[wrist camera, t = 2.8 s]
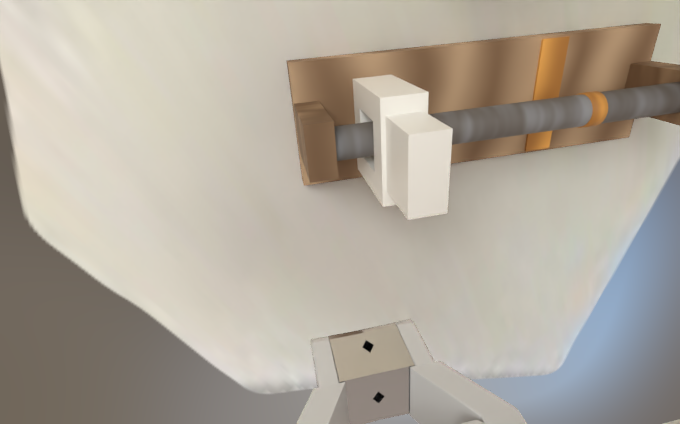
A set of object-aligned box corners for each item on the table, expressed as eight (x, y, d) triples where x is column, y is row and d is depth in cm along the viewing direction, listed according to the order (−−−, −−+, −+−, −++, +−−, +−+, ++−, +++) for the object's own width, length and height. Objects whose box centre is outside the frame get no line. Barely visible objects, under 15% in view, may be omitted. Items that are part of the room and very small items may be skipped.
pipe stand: (302, 179, 35) (314, 221, 28) (286, 60, 30) (297, 76, 23) (616, 132, 39) (694, 159, 32) (645, 23, 35) (744, 26, 28)
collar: (357, 168, 33) (402, 237, 23) (352, 78, 29) (402, 114, 19) (392, 163, 33) (451, 228, 23) (391, 74, 30) (459, 106, 20)
